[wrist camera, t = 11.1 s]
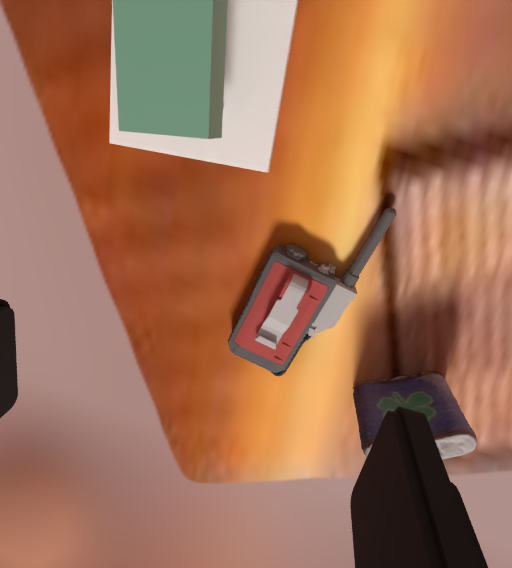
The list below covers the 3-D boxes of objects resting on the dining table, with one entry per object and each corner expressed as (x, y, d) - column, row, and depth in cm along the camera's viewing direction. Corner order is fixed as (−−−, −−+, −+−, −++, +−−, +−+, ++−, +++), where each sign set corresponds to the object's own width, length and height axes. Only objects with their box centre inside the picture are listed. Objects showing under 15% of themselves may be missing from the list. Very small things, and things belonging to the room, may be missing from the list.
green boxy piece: (232, -110, 23) (218, -155, 20) (221, 137, 29) (208, 139, 25) (136, -113, 24) (105, -157, 20) (143, 130, 29) (118, 130, 26)
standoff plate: (314, -90, 28) (314, -139, 23) (269, 170, 34) (262, 177, 29) (124, -117, 28) (83, -171, 23) (117, 142, 35) (84, 144, 30)
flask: (443, 368, 39) (487, 449, 29) (446, 392, 40) (489, 478, 30) (350, 381, 41) (362, 461, 31) (355, 404, 42) (368, 488, 32)
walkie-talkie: (297, 376, 42) (401, 211, 35) (296, 403, 38) (412, 221, 31) (224, 342, 42) (312, 166, 34) (214, 364, 38) (312, 171, 30)
